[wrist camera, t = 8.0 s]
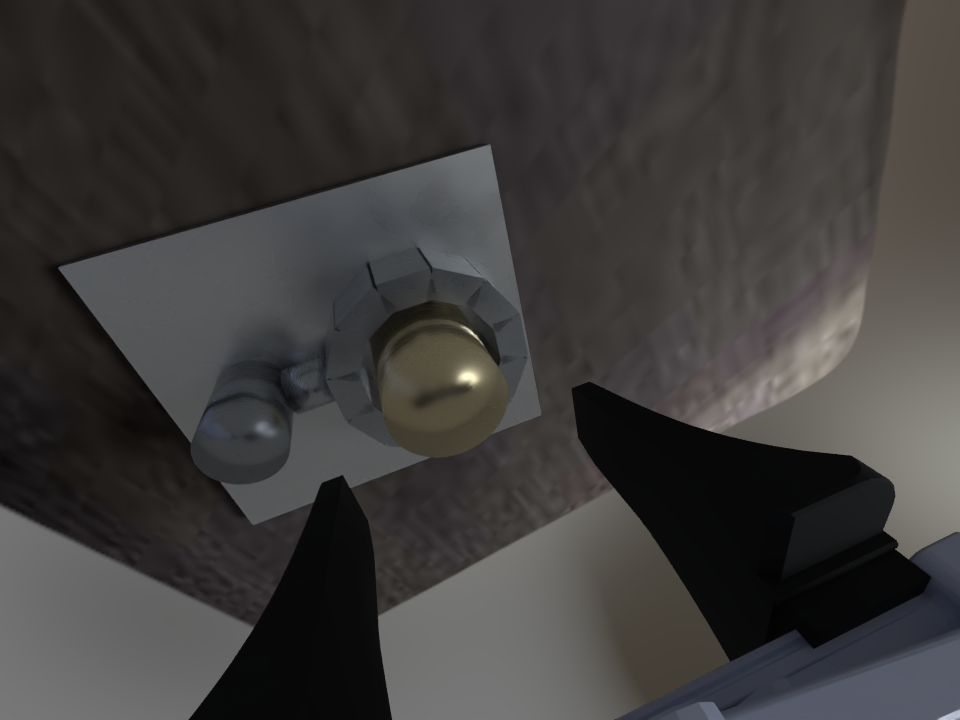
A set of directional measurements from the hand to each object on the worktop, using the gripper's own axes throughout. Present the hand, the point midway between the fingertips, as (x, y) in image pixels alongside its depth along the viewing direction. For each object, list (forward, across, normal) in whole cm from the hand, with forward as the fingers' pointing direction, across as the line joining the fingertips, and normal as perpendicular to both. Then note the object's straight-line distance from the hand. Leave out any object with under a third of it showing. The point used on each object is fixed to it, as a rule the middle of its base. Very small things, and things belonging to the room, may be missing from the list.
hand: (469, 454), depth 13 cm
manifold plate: (+9, +3, 0) cm, 10 cm away
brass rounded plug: (+8, 0, 0) cm, 9 cm away
